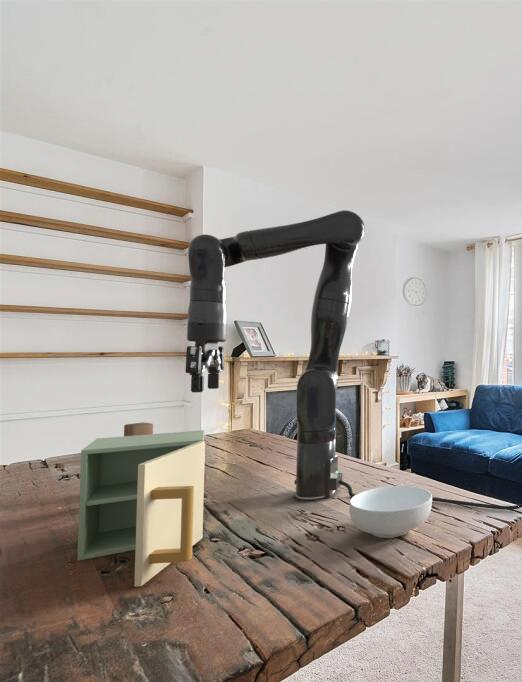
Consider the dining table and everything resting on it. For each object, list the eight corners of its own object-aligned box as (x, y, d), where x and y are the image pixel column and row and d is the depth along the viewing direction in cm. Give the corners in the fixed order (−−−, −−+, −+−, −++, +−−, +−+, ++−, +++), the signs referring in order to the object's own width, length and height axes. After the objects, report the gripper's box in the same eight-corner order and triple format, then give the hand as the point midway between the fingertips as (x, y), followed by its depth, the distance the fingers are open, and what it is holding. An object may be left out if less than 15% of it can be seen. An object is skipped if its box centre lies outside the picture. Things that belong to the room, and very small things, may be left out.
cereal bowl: (445, 521, 96) (446, 489, 96) (403, 554, 80) (404, 516, 80) (381, 510, 101) (382, 480, 101) (330, 540, 85) (331, 504, 86)
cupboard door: (234, 536, 86) (236, 440, 87) (181, 583, 69) (185, 463, 69) (197, 538, 85) (199, 441, 85) (134, 586, 68) (138, 464, 68)
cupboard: (199, 537, 86) (202, 439, 86) (77, 561, 76) (81, 450, 76) (201, 517, 96) (204, 430, 96) (93, 536, 86) (96, 438, 86)
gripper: (202, 323, 107) (200, 387, 106) (173, 319, 93) (171, 393, 93) (236, 323, 109) (234, 387, 108) (212, 320, 95) (210, 393, 94)
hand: (205, 390), depth 100 cm, fingers open, 8 cm apart
